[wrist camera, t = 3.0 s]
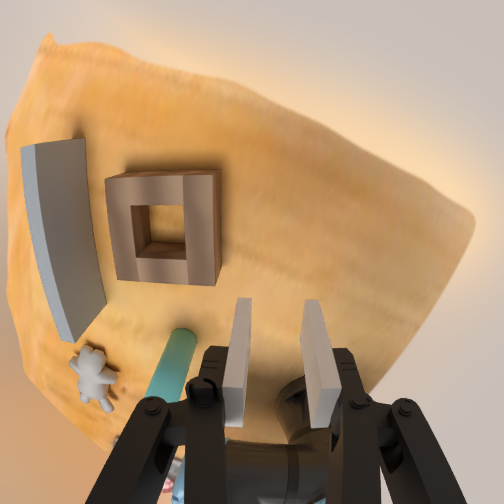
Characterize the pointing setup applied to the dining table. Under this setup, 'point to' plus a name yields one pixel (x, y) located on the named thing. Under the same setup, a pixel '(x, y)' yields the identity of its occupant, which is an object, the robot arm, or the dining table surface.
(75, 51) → the dining table surface
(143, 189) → the socket block
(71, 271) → the board
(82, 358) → the white bear-shaped figure
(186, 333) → the dowel
